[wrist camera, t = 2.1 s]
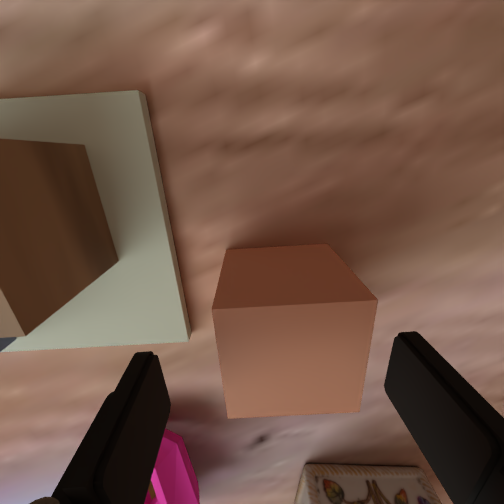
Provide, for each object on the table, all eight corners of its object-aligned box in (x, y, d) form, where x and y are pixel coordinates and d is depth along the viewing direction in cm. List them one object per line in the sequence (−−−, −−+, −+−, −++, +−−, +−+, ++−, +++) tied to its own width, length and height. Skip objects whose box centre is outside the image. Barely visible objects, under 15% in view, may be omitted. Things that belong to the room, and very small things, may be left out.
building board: (145, 94, 11) (137, 89, 10) (191, 333, 16) (188, 341, 16) (-232, 119, 11) (-267, 116, 10) (-66, 347, 16) (-81, 356, 16)
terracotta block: (326, 243, 14) (378, 300, 8) (321, 324, 16) (359, 411, 11) (226, 249, 14) (211, 309, 9) (234, 329, 16) (227, 418, 11)
